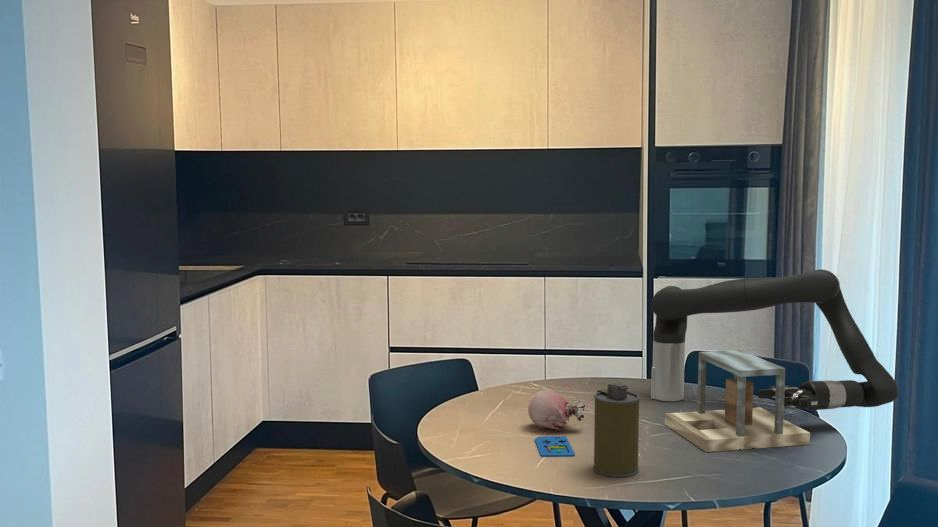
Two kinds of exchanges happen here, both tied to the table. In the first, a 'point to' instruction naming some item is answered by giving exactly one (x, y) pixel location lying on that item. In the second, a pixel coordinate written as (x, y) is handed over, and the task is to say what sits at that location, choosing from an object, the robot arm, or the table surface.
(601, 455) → the canister
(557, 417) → the toy
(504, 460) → the table surface
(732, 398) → the walnut block
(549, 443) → the handheld gaming device
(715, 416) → the tunnel deck
